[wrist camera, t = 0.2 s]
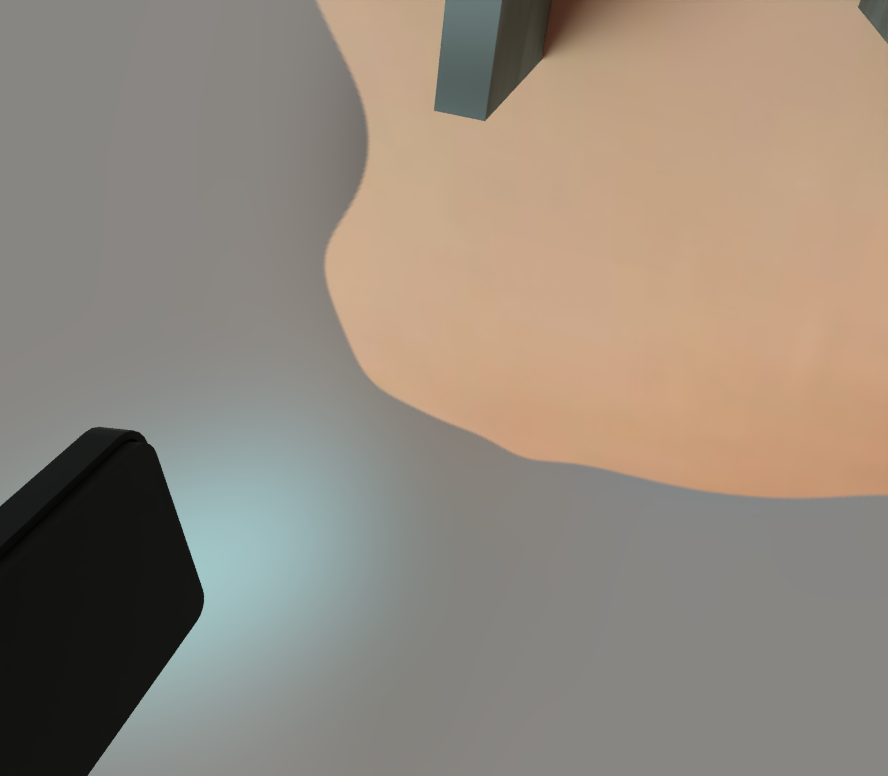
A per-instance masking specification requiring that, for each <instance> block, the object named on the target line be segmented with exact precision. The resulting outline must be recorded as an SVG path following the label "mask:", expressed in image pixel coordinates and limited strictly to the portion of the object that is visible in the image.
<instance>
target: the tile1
mask: <svg viewBox="0 0 888 776" xmlns="http://www.w3.org/2000/svg"><path fill="white" fill-rule="evenodd" d="M858 8H859V9H860V10H861V11H862V13H863V14H864V15H865V16H866V18H867V19H868V20H869V21H870V22H871V24H872V25H873V26H874V27H875V29H876V30H877V31H878V32H879V33H880V35H881V36H882V37H883V38H884V39H885V41H886V42H887V43H888V0H861V1H860V4H859V6H858Z"/></svg>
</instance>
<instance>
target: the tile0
mask: <svg viewBox="0 0 888 776" xmlns="http://www.w3.org/2000/svg"><path fill="white" fill-rule="evenodd" d="M551 1H552V0H446V1H445V11H444V21H443V30H442V40H441V49H440V59H439V69H438V78H437V88H436V98H435V107H434V111H439V112H443V113H448V114H453V115H458V116H463V117H468V118H473V119H478V120H482V121H485V120H486V119H487V118H488V117H489V116H490V115H491V114H492V113H493V112H494V111H495V110H496V109H497V107H498V106H499V105H500V104H501V103H502V102H503V101H504V100H505V99H506V98H507V97H508V96H509V94H510V93H511V92H512V91H513V90H514V89H515V88H516V87H517V86H518V85H519V84H520V83H521V81H522V80H523V79H524V78H525V77H526V76H527V75H528V74H529V73H530V72H531V71H532V70H533V69H534V67H535V66H536V65H537V64H538V63H539V62H540V61H541V59H542V53H543V47H544V42H545V36H546V30H547V24H548V19H549V13H550V7H551Z"/></svg>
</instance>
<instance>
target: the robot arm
mask: <svg viewBox="0 0 888 776" xmlns="http://www.w3.org/2000/svg"><path fill="white" fill-rule="evenodd" d="M203 604H204V593H203V589H202V586H201V583H200V580H199V577H198V574H197V571H196V568H195V565H194V562H193V559H192V556H191V553H190V550H189V548H188V545H187V542H186V539H185V536H184V533H183V530H182V527H181V524H180V521H179V518H178V515H177V512H176V509H175V506H174V503H173V500H172V497H171V495H170V492H169V489H168V486H167V483H166V480H165V477H164V474H163V471H162V468H161V465H160V462H159V459H158V457H157V454H156V451H155V449H154V448H153V447H152V446H151V445H150V444H148V443H147V441H146V439H145V437H144V436H143V435H141V434H140V433H139V432H136V431H133V430H123V429H113V428H104V427H97V428H91V429H90V430H88V431H87V432H85V433H84V434H83V435H81V436H80V437H79V438H78V439H77V440H76V441H75V442H74V443H72V444H71V445H70V446H69V447H68V448H67V449H65V450H64V451H63V452H62V453H61V454H60V455H59V456H57V457H56V458H55V459H54V460H53V461H52V462H51V463H50V464H48V465H47V466H46V467H45V468H44V469H43V470H41V471H40V472H39V473H38V474H37V475H36V476H35V477H33V478H32V479H31V480H30V481H29V482H28V483H27V484H25V485H24V486H23V487H22V488H21V489H20V490H19V491H17V492H16V493H15V494H14V495H13V496H12V497H10V498H9V499H8V500H7V501H6V502H5V503H4V504H2V505H1V506H0V776H88V774H89V773H90V771H91V770H92V769H93V767H94V766H95V764H96V763H97V762H98V760H99V758H100V757H101V756H102V754H103V753H104V752H105V750H106V749H107V747H108V746H109V745H110V743H111V742H112V740H113V739H114V738H115V736H116V735H117V733H118V732H119V731H120V729H121V728H122V726H123V725H124V723H125V722H126V721H127V719H128V718H129V716H130V715H131V714H132V712H133V711H134V709H135V708H136V706H137V705H138V704H139V702H140V701H141V699H142V698H143V697H144V695H145V694H146V692H147V691H148V690H149V688H150V687H151V685H152V684H153V682H154V681H155V680H156V678H157V677H158V675H159V674H160V673H161V671H162V670H163V668H164V667H165V666H166V664H167V663H168V661H169V660H170V658H171V657H172V656H173V654H174V653H175V651H176V650H177V648H178V647H179V646H180V644H181V643H182V642H183V640H184V639H185V637H186V636H187V634H188V633H189V632H190V630H191V629H192V627H193V626H194V624H195V623H196V622H197V620H198V618H199V617H200V615H201V612H202V609H203Z"/></svg>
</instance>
